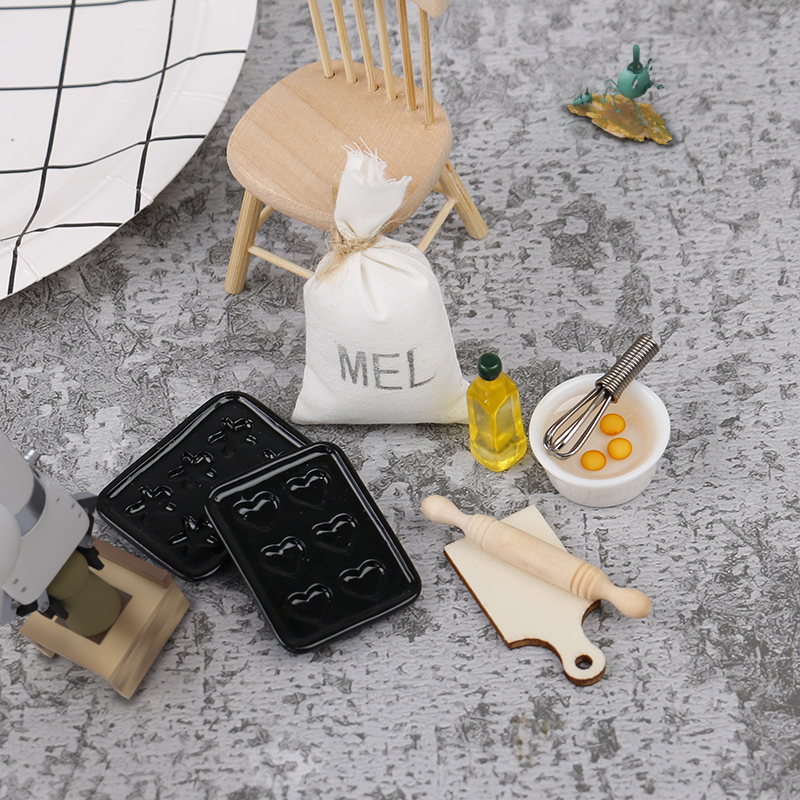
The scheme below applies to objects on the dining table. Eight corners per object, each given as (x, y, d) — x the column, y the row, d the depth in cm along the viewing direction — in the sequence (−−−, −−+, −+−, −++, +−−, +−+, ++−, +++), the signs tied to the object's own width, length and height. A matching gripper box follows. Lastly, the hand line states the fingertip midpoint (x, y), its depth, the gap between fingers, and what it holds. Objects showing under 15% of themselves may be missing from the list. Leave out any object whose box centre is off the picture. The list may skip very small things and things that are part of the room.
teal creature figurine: (591, 83, 155) (610, 5, 142) (684, 136, 149) (712, 59, 136) (556, 113, 151) (572, 35, 138) (650, 169, 145) (676, 92, 133)
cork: (106, 572, 103) (69, 525, 94) (130, 613, 100) (95, 569, 91) (55, 604, 101) (13, 560, 92) (79, 647, 98) (38, 606, 89)
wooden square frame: (129, 699, 102) (101, 672, 95) (43, 654, 106) (10, 624, 98) (190, 604, 108) (169, 571, 100) (107, 564, 111) (80, 529, 104)
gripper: (28, 412, 86) (95, 506, 101) (-103, 568, 78) (-9, 646, 93) (93, 440, 84) (152, 532, 99) (-35, 604, 76) (50, 678, 91)
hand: (73, 586), depth 96 cm, fingers closed on cork, 5 cm apart
